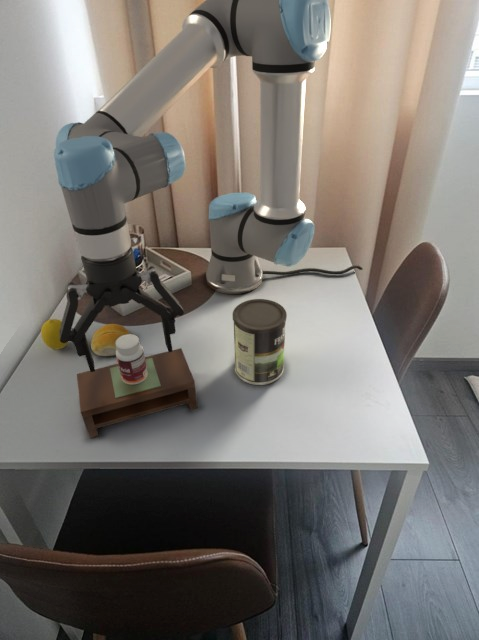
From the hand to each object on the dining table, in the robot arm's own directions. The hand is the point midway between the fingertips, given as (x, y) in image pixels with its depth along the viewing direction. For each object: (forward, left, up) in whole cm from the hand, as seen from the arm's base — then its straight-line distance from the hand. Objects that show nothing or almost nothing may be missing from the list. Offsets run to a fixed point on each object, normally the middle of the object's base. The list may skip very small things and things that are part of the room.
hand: (131, 357), depth 79 cm
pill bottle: (0, 0, -5) cm, 5 cm away
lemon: (+14, -23, -12) cm, 30 cm away
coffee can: (-25, -1, -12) cm, 28 cm away
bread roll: (+3, -20, -12) cm, 23 cm away
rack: (0, 0, -12) cm, 12 cm away
